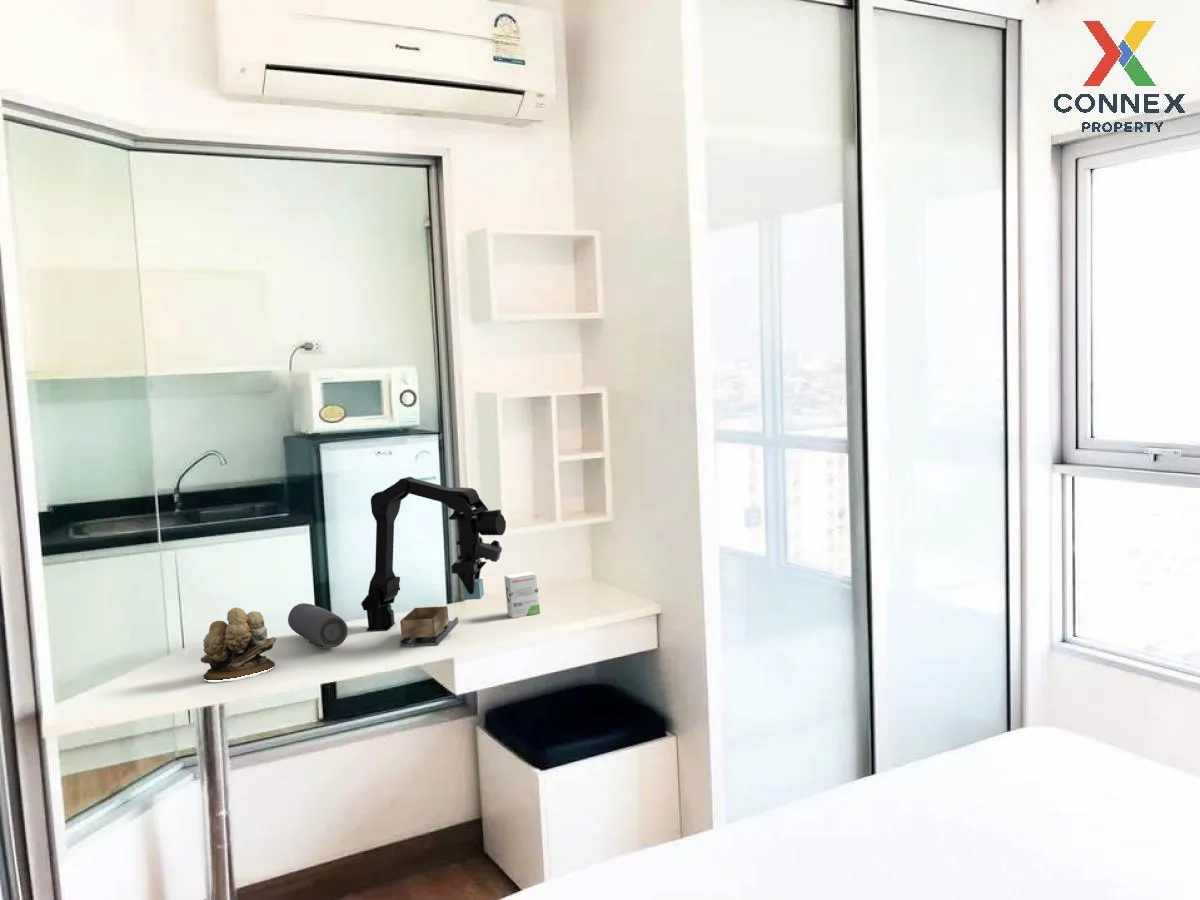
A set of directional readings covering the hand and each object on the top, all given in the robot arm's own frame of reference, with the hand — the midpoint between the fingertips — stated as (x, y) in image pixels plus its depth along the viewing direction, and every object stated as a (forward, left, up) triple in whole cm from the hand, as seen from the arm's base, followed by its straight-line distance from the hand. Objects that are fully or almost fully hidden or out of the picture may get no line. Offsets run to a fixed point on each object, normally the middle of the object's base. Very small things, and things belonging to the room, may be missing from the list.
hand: (473, 591), depth 263 cm
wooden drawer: (-13, -4, -11) cm, 18 cm away
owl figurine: (-54, -28, -12) cm, 62 cm away
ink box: (+10, +16, -11) cm, 22 cm away
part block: (0, 0, -2) cm, 2 cm away
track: (-13, 0, -11) cm, 17 cm away
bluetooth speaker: (-43, -5, -12) cm, 45 cm away
